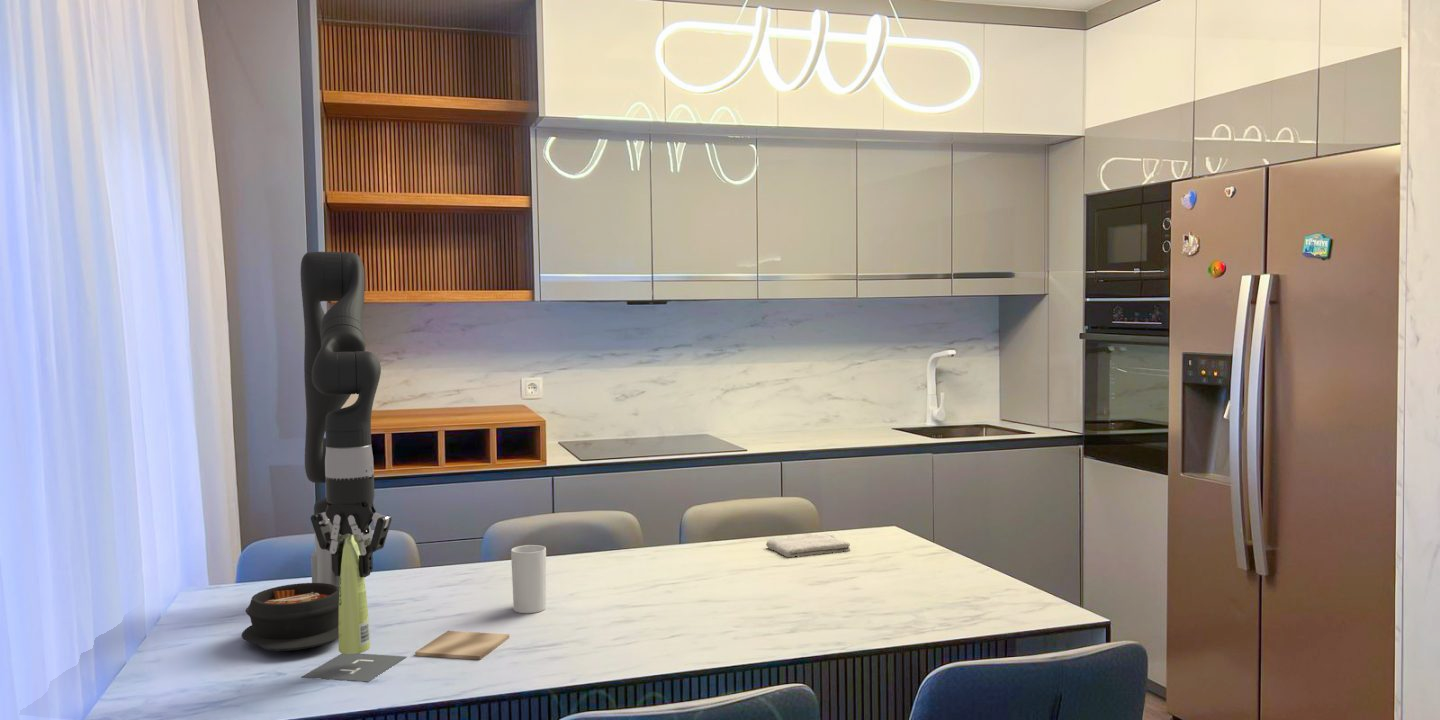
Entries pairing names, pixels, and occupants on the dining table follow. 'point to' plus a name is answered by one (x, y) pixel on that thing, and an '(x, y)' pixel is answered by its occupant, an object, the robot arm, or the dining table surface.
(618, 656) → the dining table surface
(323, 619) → the casserole
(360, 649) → the tube
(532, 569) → the mug
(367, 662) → the label
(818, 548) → the washcloth
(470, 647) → the cork pad
